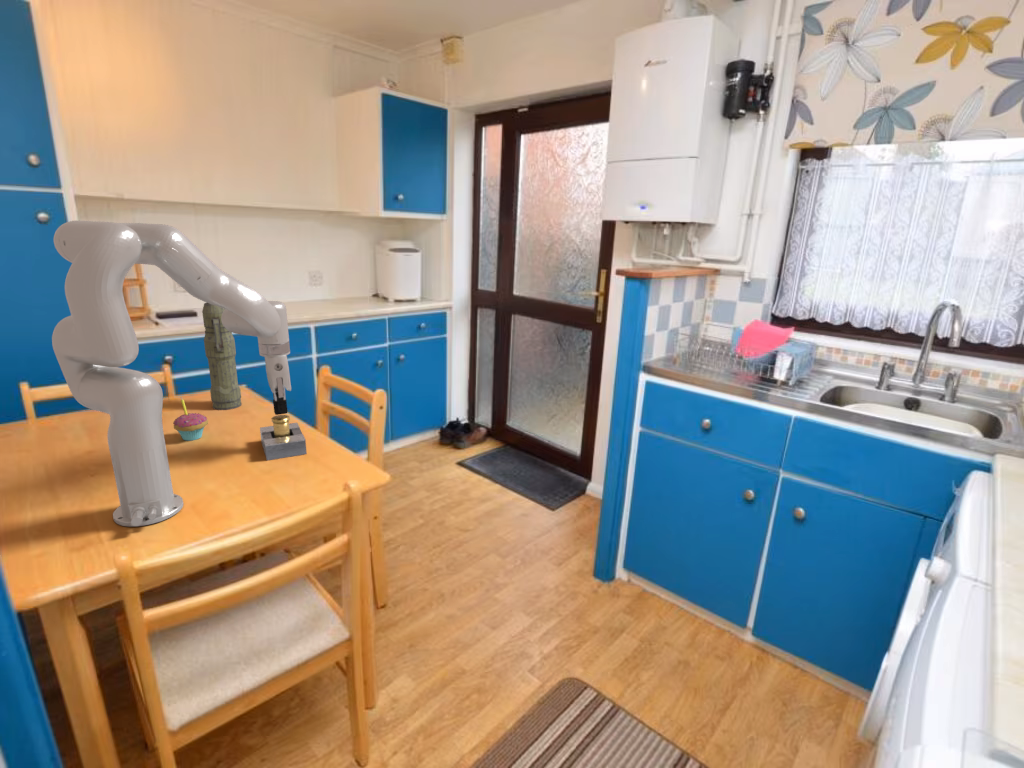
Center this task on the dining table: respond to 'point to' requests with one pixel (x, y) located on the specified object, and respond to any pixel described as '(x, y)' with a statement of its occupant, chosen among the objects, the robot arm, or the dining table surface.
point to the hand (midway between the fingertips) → (280, 413)
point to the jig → (283, 443)
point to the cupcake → (190, 424)
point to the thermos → (220, 360)
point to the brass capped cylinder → (281, 426)
